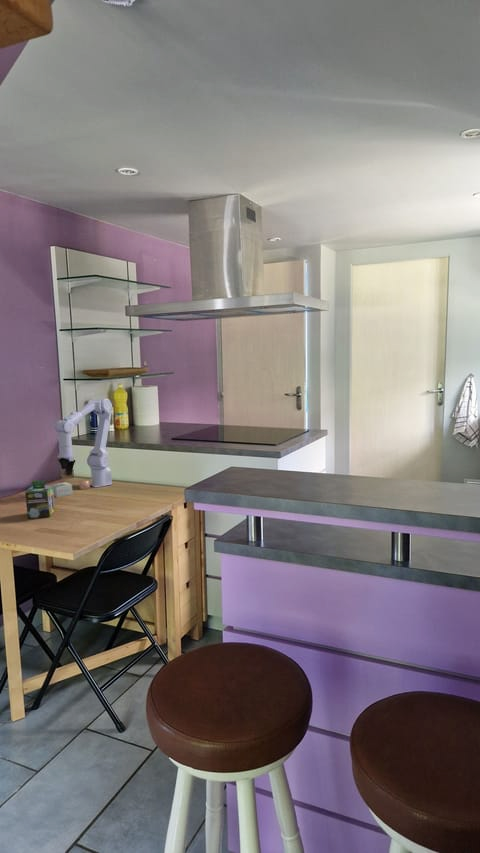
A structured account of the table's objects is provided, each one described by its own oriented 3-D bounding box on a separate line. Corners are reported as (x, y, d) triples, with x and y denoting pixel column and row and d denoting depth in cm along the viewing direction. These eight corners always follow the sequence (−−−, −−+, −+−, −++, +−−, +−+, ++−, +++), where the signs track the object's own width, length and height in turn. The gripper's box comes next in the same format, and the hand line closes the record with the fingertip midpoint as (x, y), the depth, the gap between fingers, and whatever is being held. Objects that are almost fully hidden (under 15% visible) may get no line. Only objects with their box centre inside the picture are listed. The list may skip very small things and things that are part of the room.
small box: (67, 492, 263) (66, 481, 262) (72, 495, 257) (72, 484, 256) (51, 494, 258) (50, 484, 257) (56, 498, 252) (55, 487, 251)
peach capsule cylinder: (88, 486, 272) (87, 478, 271) (91, 488, 268) (90, 480, 267) (78, 488, 269) (77, 480, 269) (81, 489, 265) (80, 481, 265)
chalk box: (55, 511, 230) (52, 477, 228) (50, 517, 221) (47, 482, 219) (33, 512, 229) (30, 478, 227) (26, 518, 220) (23, 483, 218)
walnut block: (71, 476, 259) (70, 468, 258) (74, 477, 255) (73, 469, 255) (61, 477, 256) (60, 469, 256) (64, 479, 253) (64, 471, 252)
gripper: (52, 444, 257) (54, 472, 259) (62, 448, 246) (64, 477, 248) (66, 443, 262) (68, 470, 263) (77, 446, 250) (79, 475, 252)
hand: (67, 474), depth 256 cm, fingers closed on walnut block, 4 cm apart
